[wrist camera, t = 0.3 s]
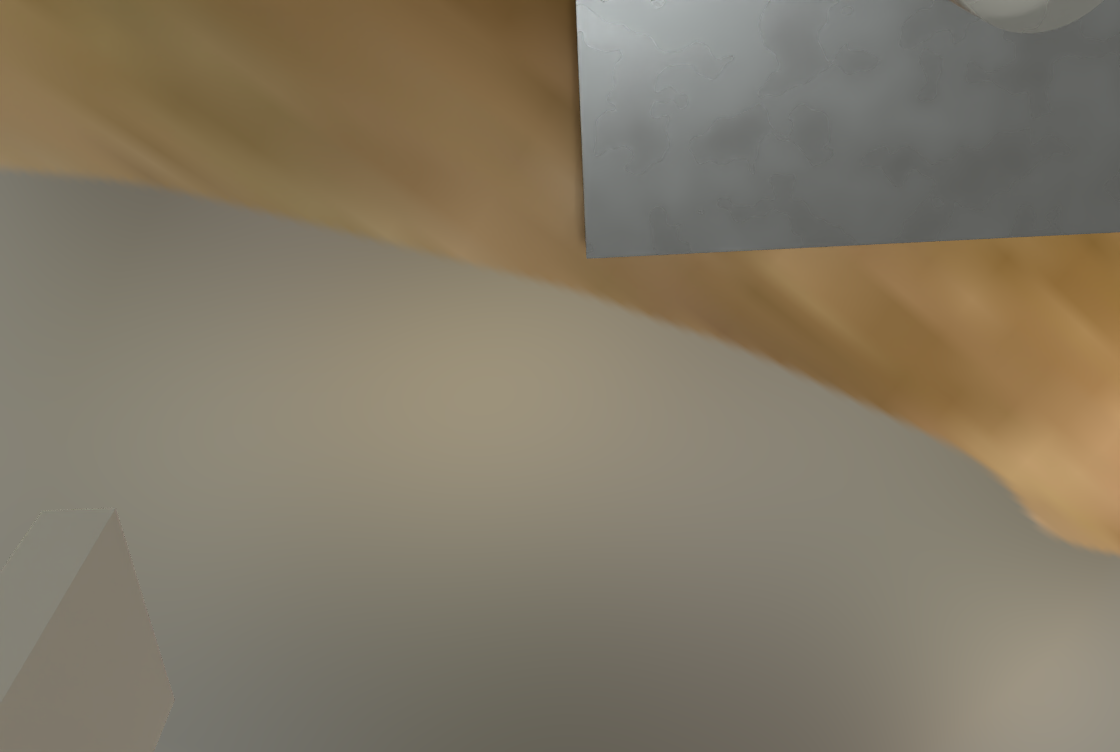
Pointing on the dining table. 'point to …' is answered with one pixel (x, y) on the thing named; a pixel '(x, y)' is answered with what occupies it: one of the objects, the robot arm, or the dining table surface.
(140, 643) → the robot arm
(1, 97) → the dining table surface
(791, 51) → the grey metal plate
